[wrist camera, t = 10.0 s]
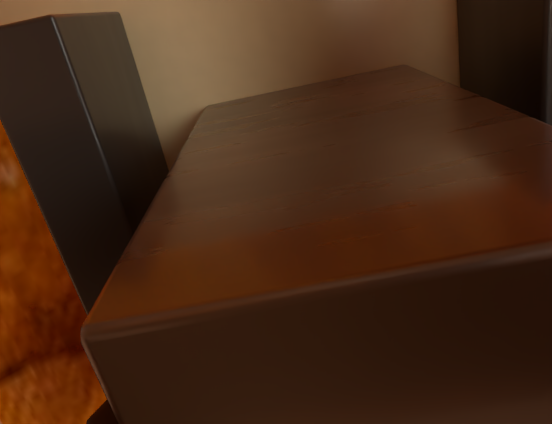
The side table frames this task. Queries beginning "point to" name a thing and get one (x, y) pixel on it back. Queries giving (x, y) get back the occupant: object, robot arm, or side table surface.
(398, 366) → the dark brown block
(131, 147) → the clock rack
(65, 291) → the side table surface
